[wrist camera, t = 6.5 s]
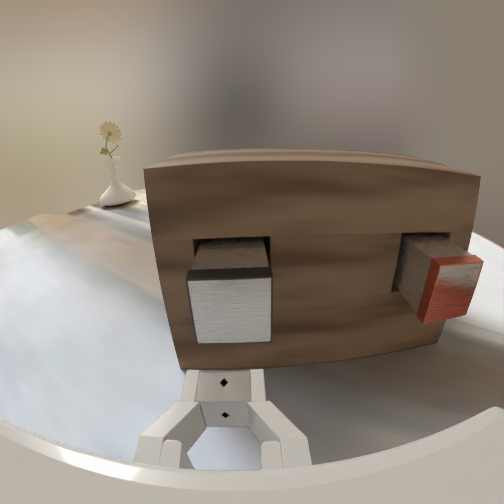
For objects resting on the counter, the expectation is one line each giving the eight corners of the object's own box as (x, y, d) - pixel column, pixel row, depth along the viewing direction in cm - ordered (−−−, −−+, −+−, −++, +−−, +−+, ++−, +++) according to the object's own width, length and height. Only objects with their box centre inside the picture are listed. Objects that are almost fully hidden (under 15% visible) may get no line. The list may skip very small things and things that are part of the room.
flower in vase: (143, 200, 79) (135, 115, 68) (109, 211, 71) (99, 119, 60) (124, 196, 86) (116, 121, 76) (93, 206, 78) (84, 126, 68)
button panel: (436, 342, 23) (480, 176, 16) (180, 368, 22) (143, 169, 16) (393, 286, 33) (412, 156, 26) (195, 298, 32) (180, 152, 26)
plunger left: (272, 342, 15) (273, 276, 14) (196, 344, 15) (185, 279, 14) (262, 273, 23) (261, 222, 21) (209, 275, 23) (204, 225, 21)
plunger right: (465, 314, 16) (483, 261, 14) (422, 324, 16) (440, 265, 14) (415, 264, 23) (424, 220, 21) (377, 267, 23) (384, 220, 21)
